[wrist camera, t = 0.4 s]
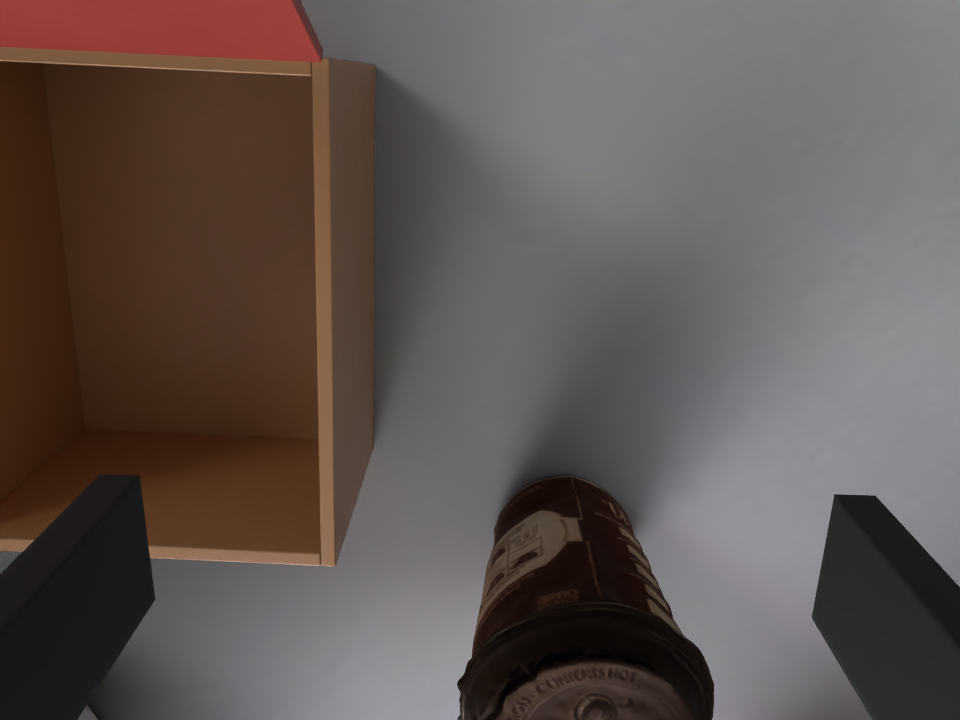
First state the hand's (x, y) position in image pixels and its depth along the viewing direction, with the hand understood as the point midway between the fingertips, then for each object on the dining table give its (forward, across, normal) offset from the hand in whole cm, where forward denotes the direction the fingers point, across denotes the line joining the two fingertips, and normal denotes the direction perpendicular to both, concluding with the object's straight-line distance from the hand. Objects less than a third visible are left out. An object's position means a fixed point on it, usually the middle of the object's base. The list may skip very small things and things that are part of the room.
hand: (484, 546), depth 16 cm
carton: (+20, -11, +1) cm, 23 cm away
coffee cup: (+20, +4, -11) cm, 23 cm away
